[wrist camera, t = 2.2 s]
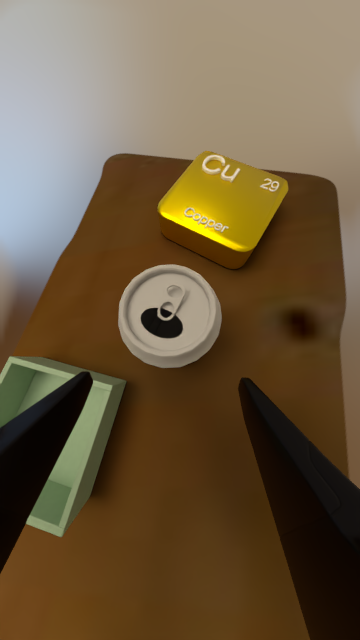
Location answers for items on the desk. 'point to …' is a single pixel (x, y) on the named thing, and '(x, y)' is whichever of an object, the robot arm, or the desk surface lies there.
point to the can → (169, 316)
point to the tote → (83, 443)
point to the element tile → (220, 208)
